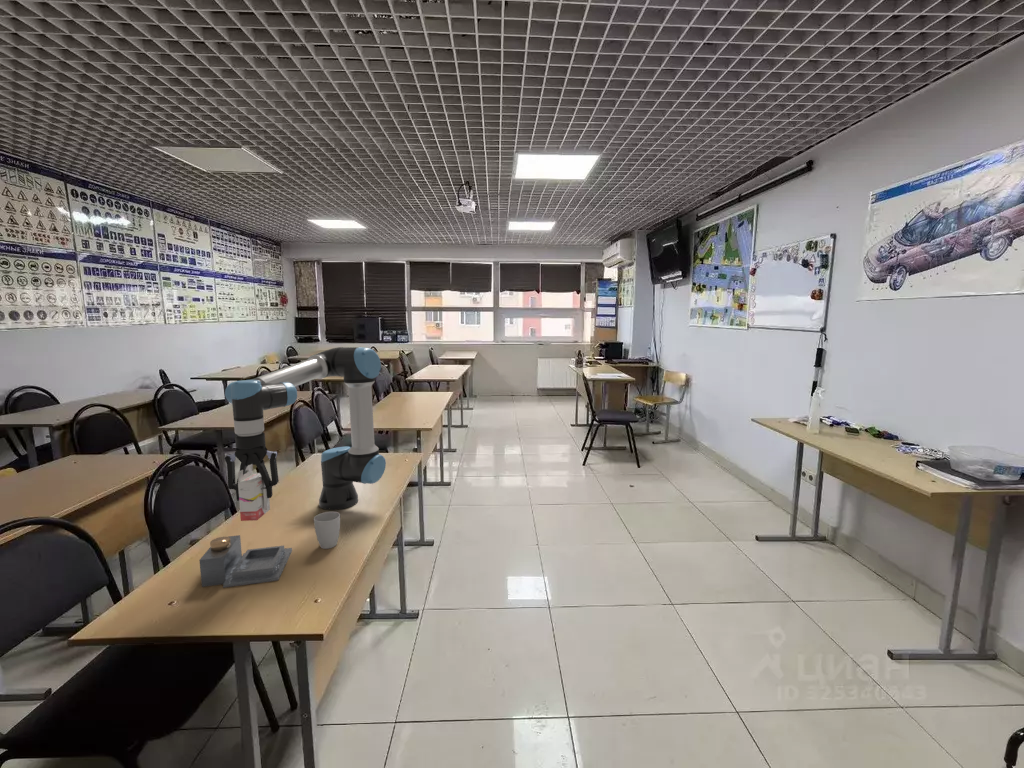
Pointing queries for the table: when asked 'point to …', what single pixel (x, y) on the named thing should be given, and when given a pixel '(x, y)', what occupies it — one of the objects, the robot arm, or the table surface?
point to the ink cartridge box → (251, 495)
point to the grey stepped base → (241, 563)
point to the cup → (327, 529)
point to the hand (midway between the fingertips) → (255, 509)
